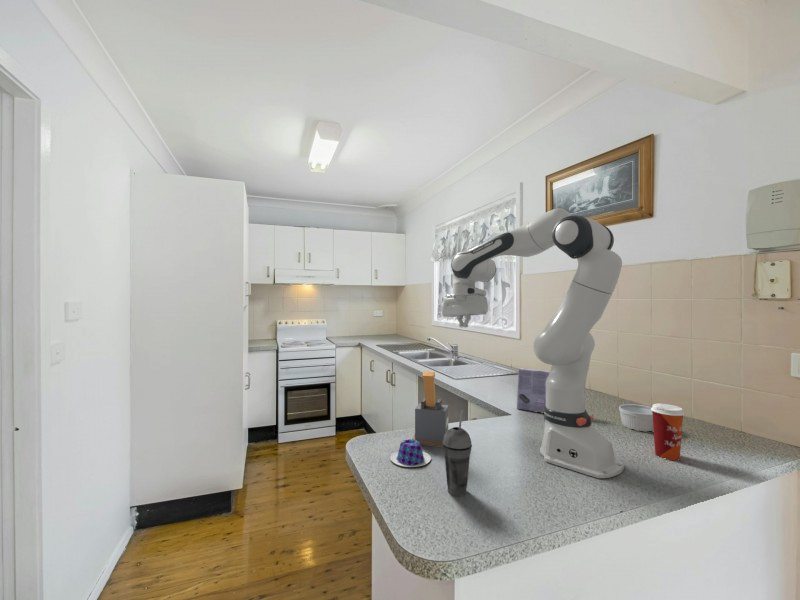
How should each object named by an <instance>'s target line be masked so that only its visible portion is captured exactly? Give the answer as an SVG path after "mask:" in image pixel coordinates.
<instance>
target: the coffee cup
mask: <svg viewBox="0 0 800 600" xmlns="http://www.w3.org/2000/svg"><path fill="white" fill-rule="evenodd" d="M651 407H652V408H651V410H652V415H653V430H654V432H653V438H654V439H653V441H654V442H653V443H654V453H655V455H656V457H658V456H659V458H660V457H662V458H661V459H663V458H666V459H665V460H667V459H670V460H669V461H679V460H680V457H681V450H682V449H681V447H682V436H683V435H682V434H683V422H684V416H685V412H684V410H683V408H682V407H680V406H678V405H673V404H669V403H654V404H652V406H651ZM678 459H679V460H678Z"/></svg>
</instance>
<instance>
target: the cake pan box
mask: <svg viewBox="0 0 800 600" xmlns="http://www.w3.org/2000/svg"><path fill="white" fill-rule="evenodd" d="M549 373H550V370H542V369H534V368H526V367H520V368H518V375H517V377H518V379H517V395H516V396H517V399H516V400H517V401H516V409H517V410H520V409H524V410H523V411H526V410H530V411H529V412H532V411H537V412H543V413H544V406H545V405H546V379H547V377H548V376H549ZM537 412H536V413H537ZM543 413H542V414H543Z"/></svg>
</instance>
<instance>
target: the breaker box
mask: <svg viewBox="0 0 800 600" xmlns="http://www.w3.org/2000/svg"><path fill="white" fill-rule="evenodd" d="M442 402H443V401H442V398H438V399H437V400H436V408H429V407H426V398H425V397H423V398H422V399H421V401H420V402H419V403H418V404H417V406H416V407H415V408H414V435H413V437H412V438H411V439H412V440H417V441H419V442H420V444H421V446H425V447H426V446H430V447H437V448H443V445H442V443H443V438H444V435H445V433H446V432H447V431H448V430H449V420H450V418H449V417H450V416H449V404H443V403H442Z"/></svg>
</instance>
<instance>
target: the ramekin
mask: <svg viewBox="0 0 800 600" xmlns="http://www.w3.org/2000/svg"><path fill="white" fill-rule="evenodd" d="M651 408H652V406H649V405H643V404H634V403H632V404H631V403H629V404H627V403H625V404H621V405H619V407H618V410H619V414H620V419H621V423H622V426H624V427H625V426H626V427H628V428H627V429H629V428H631V429H635V430H640V431H654V430H653V415H652V410H651ZM626 427H625V428H626ZM631 429H630V430H631ZM635 430H634V431H635ZM640 431H639V432H640Z"/></svg>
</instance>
